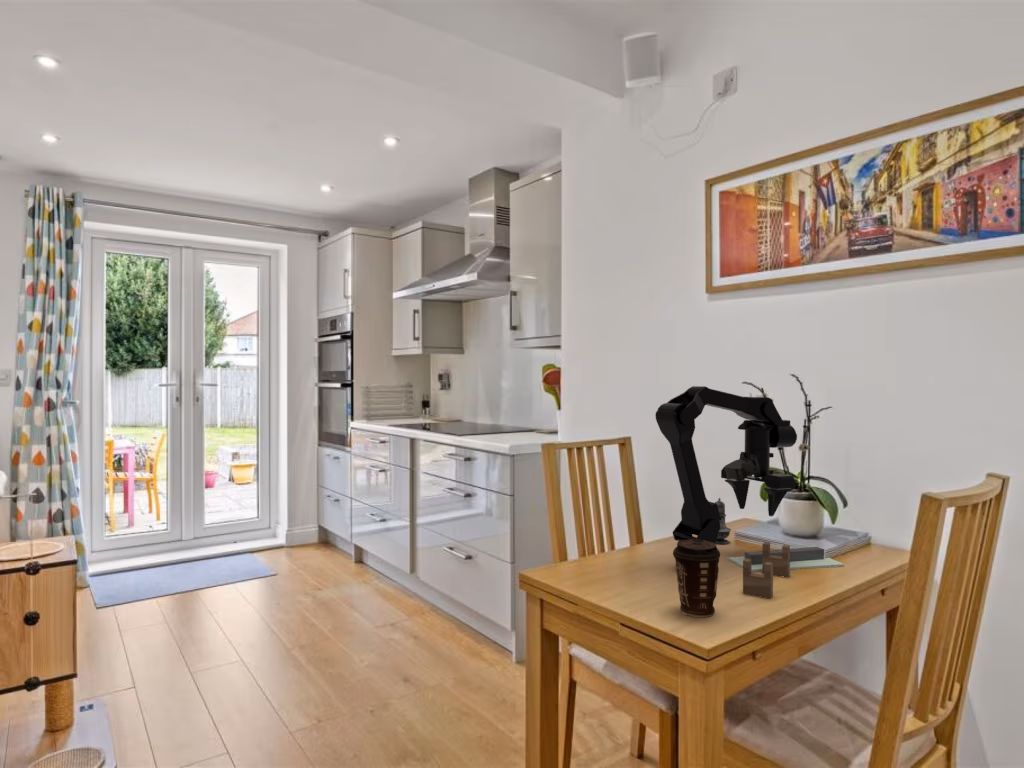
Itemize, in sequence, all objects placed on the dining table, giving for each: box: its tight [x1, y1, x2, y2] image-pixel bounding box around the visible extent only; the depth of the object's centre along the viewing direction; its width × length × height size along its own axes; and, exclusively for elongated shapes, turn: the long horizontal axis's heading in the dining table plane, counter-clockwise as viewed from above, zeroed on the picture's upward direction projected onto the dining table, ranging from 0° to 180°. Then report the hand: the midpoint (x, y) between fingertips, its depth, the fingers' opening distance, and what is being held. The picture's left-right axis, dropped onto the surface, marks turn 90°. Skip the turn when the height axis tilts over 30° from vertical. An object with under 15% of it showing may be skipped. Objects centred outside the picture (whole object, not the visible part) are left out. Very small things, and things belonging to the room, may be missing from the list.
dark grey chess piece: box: [714, 497, 732, 546], centre depth 169 cm, size 6×6×12 cm
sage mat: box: [727, 556, 845, 573], centre depth 150 cm, size 24×10×1 cm, turn 100°
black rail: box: [744, 546, 825, 565], centre depth 150 cm, size 20×2×2 cm, turn 103°
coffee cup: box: [672, 539, 721, 618], centre depth 119 cm, size 9×8×13 cm
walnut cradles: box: [742, 541, 791, 599], centre depth 135 cm, size 18×5×7 cm, turn 145°
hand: (756, 512), depth 152 cm, fingers open, 9 cm apart
